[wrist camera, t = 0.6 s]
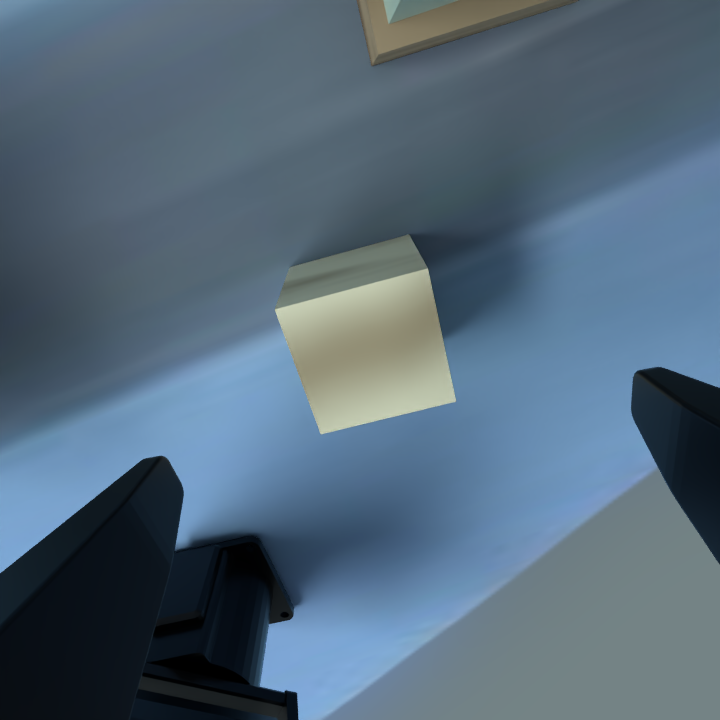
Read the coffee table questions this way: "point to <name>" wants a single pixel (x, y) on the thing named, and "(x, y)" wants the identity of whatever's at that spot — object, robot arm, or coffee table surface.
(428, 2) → the grey-green middle block
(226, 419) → the coffee table surface
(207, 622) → the robot arm
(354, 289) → the birch cube
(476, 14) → the walnut base block
